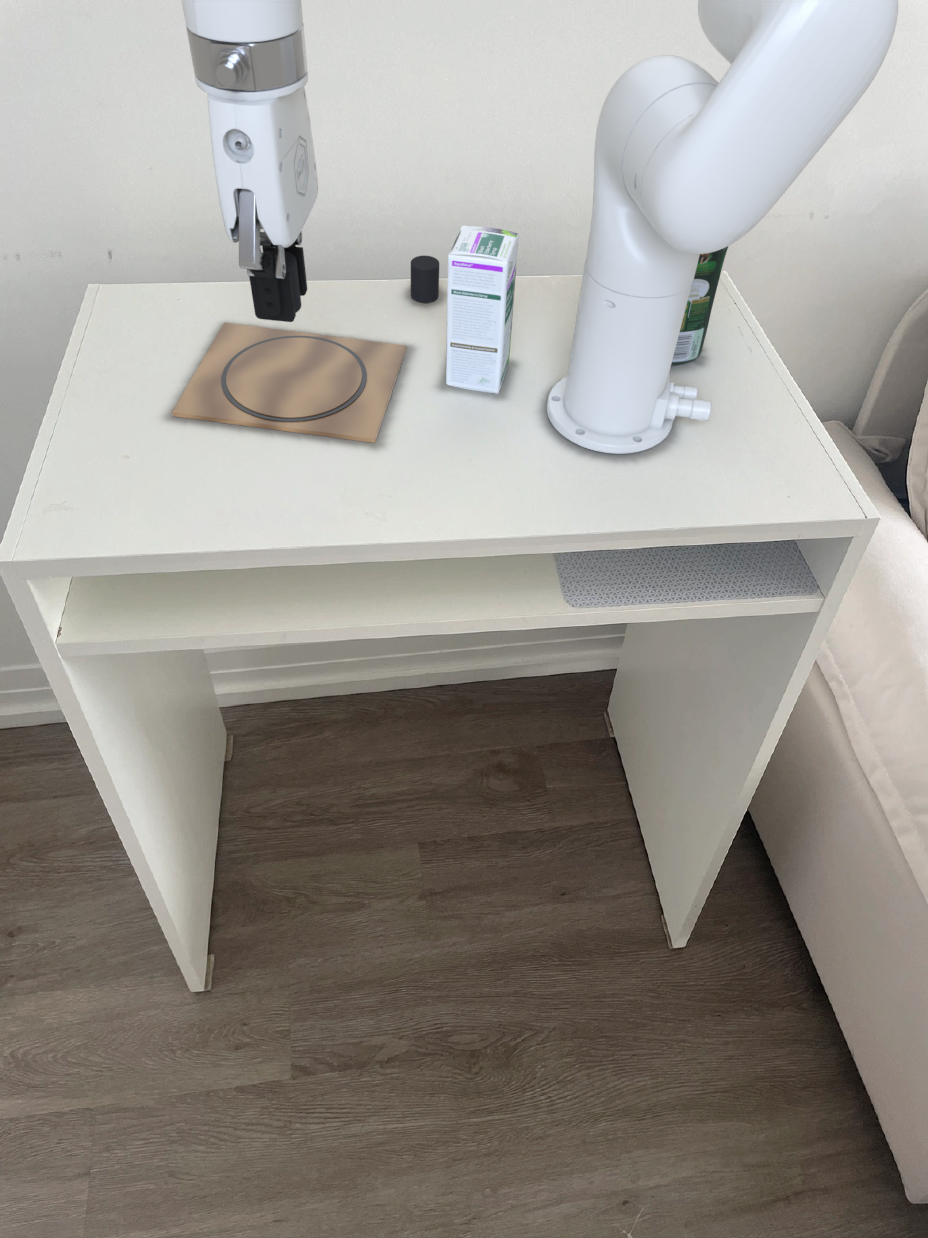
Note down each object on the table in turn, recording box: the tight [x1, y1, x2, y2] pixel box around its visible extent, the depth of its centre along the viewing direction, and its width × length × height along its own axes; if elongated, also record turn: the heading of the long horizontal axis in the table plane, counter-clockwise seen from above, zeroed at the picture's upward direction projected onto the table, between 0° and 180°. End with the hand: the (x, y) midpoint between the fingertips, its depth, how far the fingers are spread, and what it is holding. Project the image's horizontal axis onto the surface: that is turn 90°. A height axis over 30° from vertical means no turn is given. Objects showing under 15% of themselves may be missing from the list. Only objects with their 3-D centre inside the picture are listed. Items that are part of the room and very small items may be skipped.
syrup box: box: [445, 224, 519, 394], centre depth 89 cm, size 6×6×14 cm
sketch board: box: [171, 322, 407, 444], centre depth 92 cm, size 20×16×1 cm
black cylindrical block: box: [264, 251, 302, 313], centre depth 73 cm, size 3×3×4 cm
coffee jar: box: [671, 246, 729, 366], centre depth 93 cm, size 10×8×19 cm
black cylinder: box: [410, 255, 440, 304], centre depth 102 cm, size 3×3×4 cm
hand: (282, 303), depth 74 cm, fingers closed on black cylindrical block, 3 cm apart
